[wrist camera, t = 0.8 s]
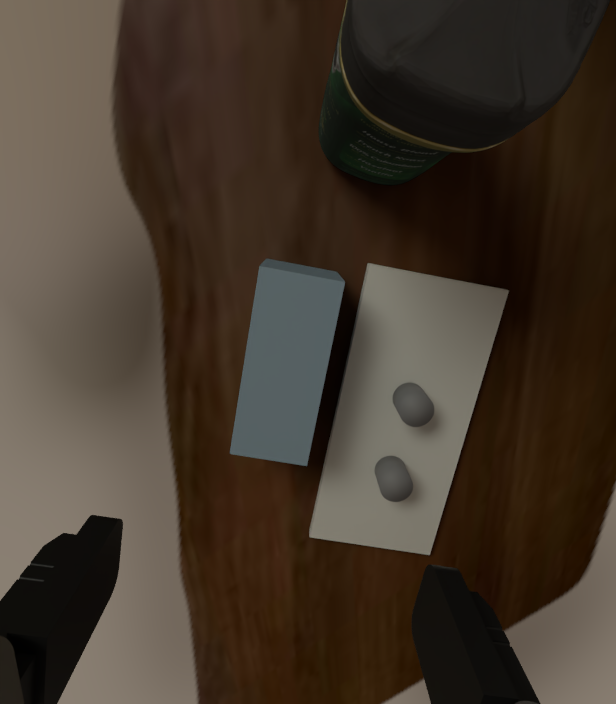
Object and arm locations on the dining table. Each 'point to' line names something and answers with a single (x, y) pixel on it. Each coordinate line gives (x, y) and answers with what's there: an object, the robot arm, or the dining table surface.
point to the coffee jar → (445, 78)
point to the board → (374, 428)
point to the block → (286, 361)
